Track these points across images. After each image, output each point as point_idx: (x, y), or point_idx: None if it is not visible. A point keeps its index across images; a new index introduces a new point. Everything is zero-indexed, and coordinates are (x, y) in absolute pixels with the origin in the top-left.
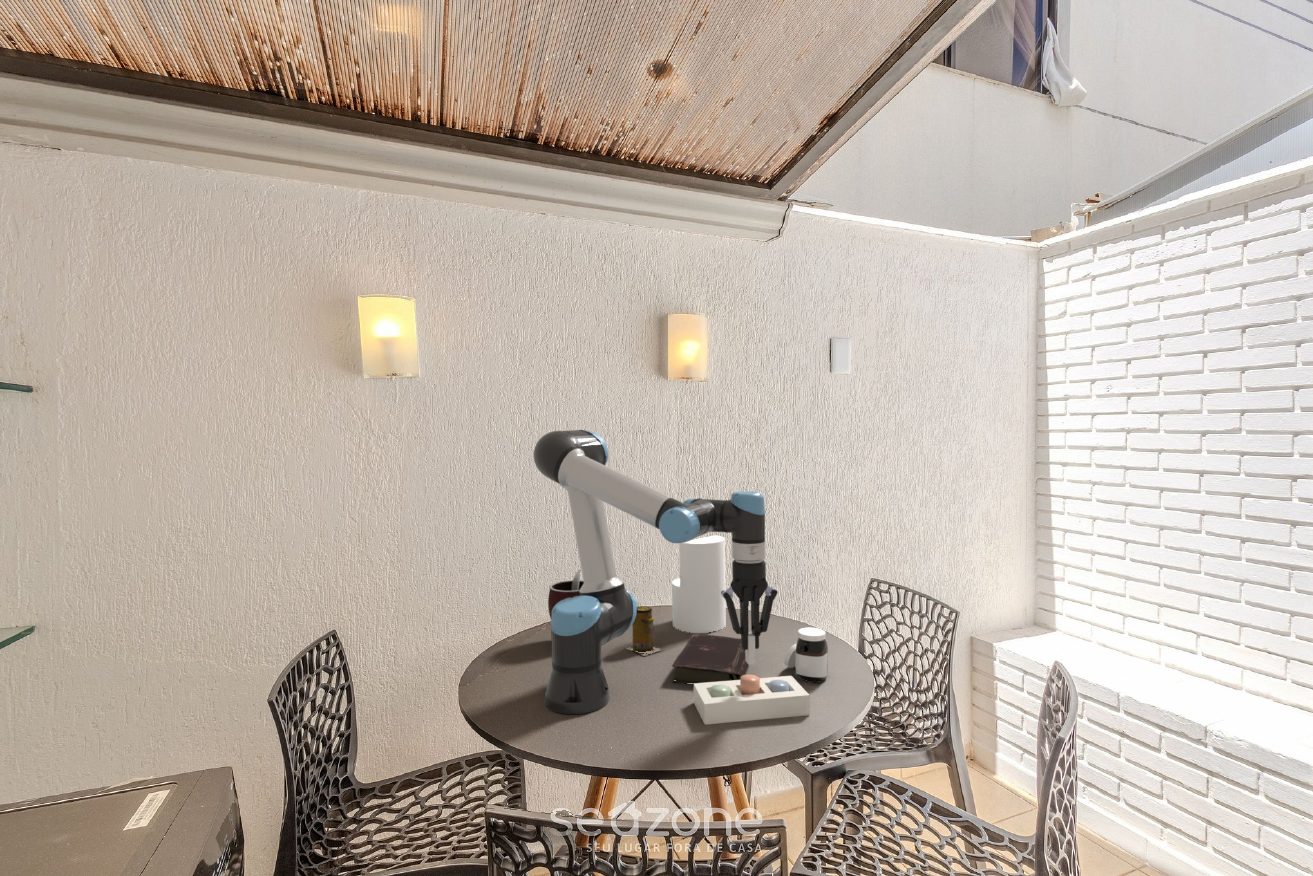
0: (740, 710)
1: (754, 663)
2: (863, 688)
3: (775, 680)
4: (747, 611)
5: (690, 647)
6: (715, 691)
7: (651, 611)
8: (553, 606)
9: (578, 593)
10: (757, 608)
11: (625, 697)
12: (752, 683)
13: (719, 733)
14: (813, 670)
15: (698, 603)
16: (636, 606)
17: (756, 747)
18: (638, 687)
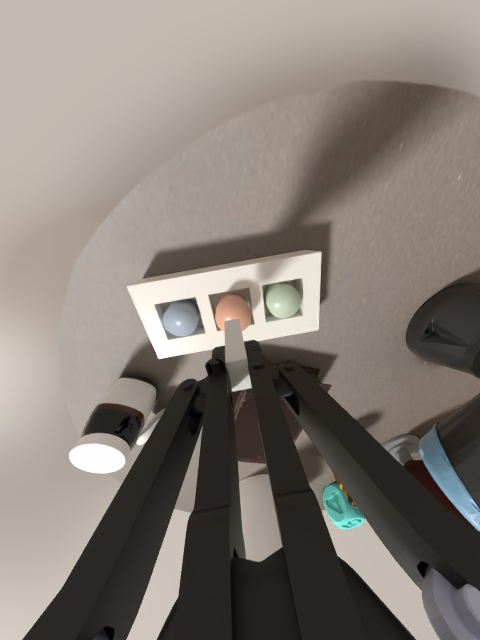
0: (253, 261)
1: (226, 322)
2: (59, 362)
3: (186, 333)
4: (270, 454)
5: (292, 434)
6: (296, 291)
7: (348, 497)
8: None
9: (471, 524)
10: (207, 484)
11: (386, 331)
12: (231, 300)
13: (290, 218)
14: (124, 385)
15: (271, 521)
16: (328, 510)
17: (239, 160)
18: (362, 356)
